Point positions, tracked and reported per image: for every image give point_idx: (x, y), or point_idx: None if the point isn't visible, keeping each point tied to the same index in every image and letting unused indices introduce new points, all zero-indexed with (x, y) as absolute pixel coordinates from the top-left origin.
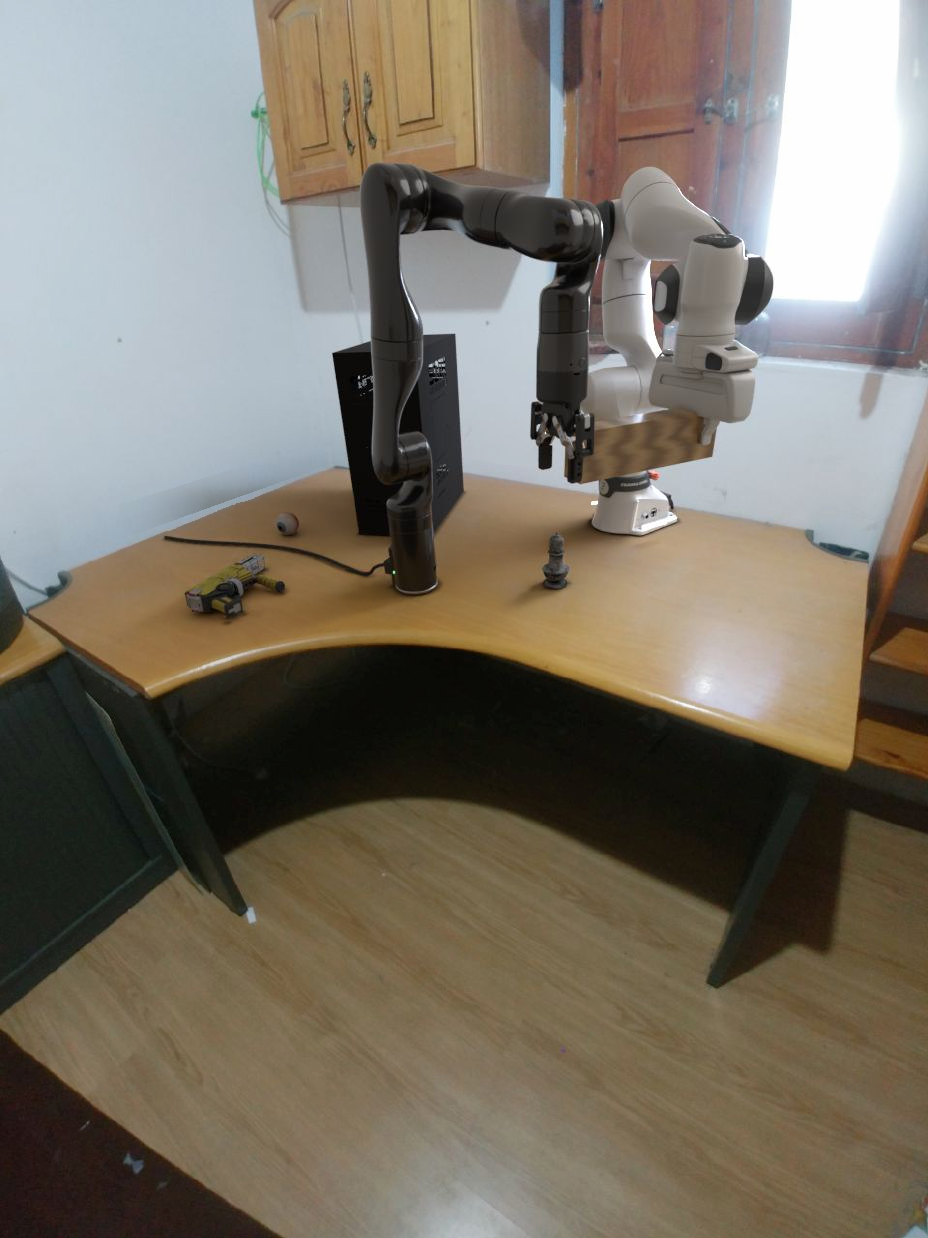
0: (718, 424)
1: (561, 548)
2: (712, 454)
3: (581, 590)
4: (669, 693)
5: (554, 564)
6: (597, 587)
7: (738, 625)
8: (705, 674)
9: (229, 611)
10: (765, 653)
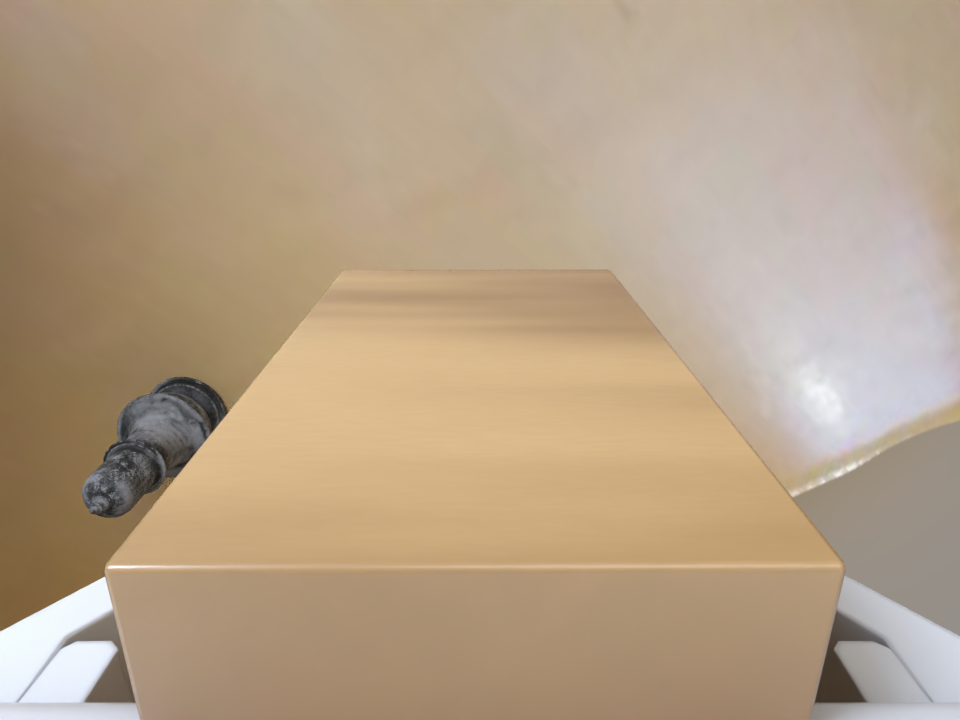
0: (950, 641)
1: (147, 471)
2: (614, 277)
3: (262, 369)
4: (790, 476)
5: (173, 464)
6: (264, 315)
7: (686, 95)
8: (794, 363)
9: None
10: (834, 153)
